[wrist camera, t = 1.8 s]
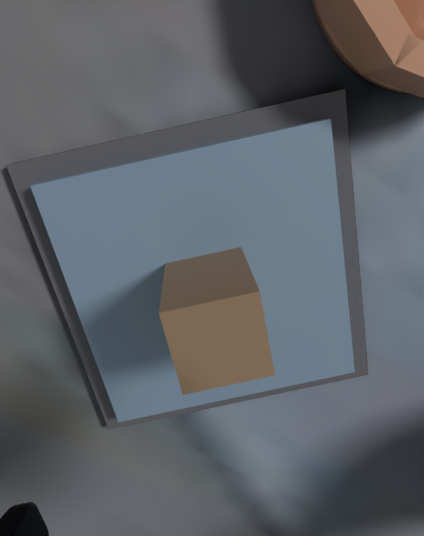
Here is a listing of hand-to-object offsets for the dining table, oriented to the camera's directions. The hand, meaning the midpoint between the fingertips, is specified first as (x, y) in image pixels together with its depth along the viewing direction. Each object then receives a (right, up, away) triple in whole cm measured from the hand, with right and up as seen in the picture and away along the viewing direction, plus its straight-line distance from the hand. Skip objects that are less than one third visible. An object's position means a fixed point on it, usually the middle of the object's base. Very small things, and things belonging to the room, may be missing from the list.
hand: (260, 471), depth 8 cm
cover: (-1, +3, +12) cm, 13 cm away
